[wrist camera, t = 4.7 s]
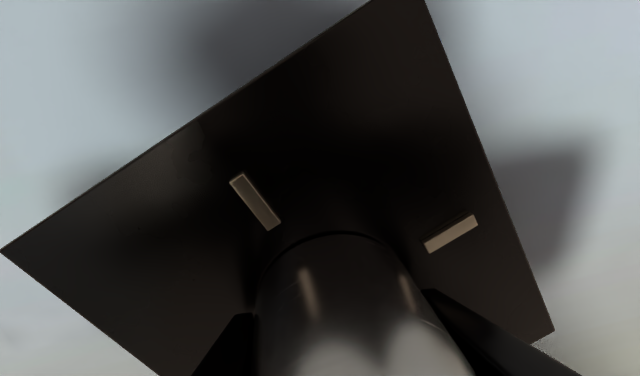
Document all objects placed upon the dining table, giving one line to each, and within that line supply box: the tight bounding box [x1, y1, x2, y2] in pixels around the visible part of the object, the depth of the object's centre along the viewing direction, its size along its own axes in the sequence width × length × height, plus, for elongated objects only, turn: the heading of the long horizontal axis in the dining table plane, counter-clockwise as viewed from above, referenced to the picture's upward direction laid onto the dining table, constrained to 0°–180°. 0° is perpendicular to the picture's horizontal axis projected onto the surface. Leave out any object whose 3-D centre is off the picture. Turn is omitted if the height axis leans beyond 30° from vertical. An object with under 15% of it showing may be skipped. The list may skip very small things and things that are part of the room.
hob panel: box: [0, 0, 555, 376], centre depth 10 cm, size 11×10×4 cm
